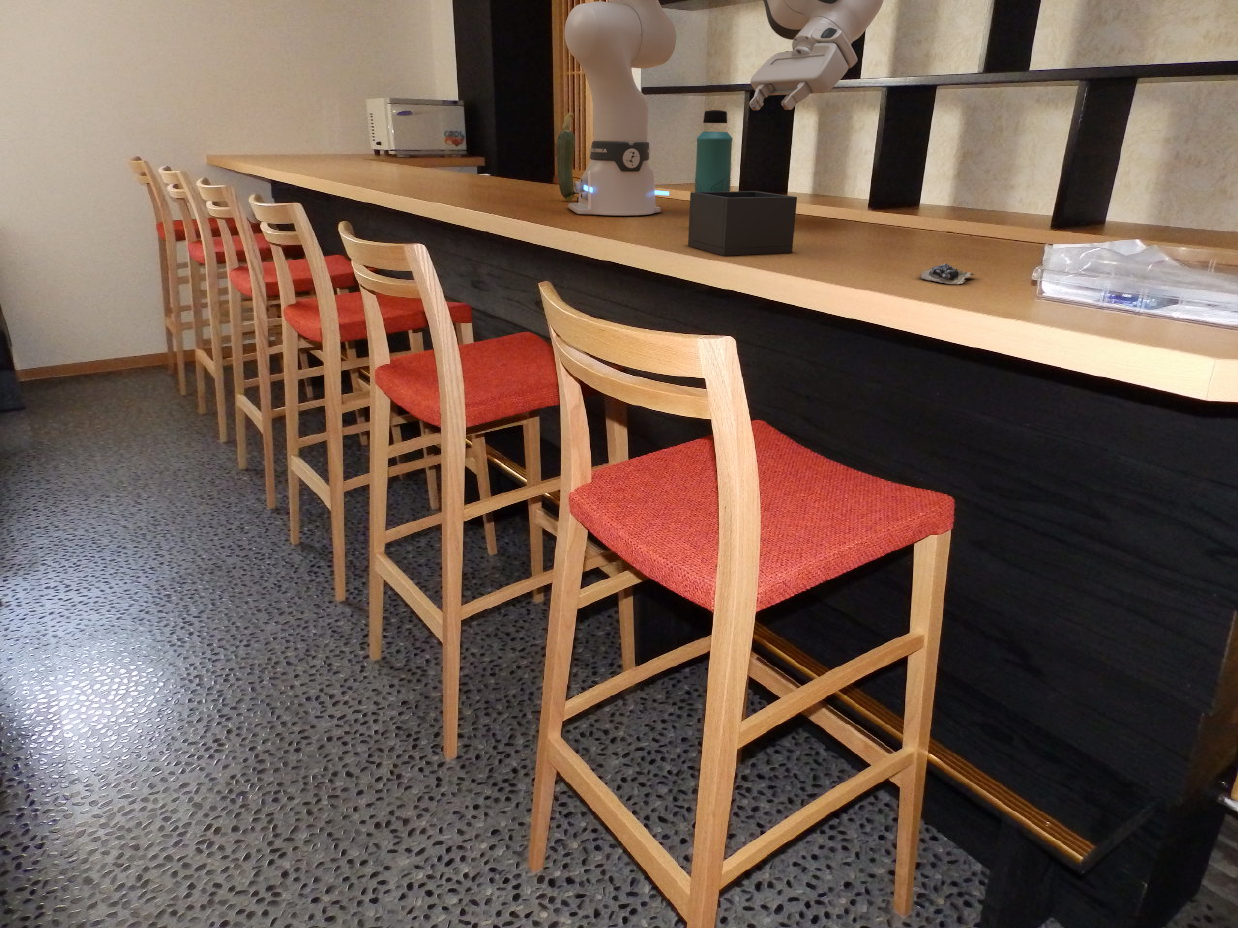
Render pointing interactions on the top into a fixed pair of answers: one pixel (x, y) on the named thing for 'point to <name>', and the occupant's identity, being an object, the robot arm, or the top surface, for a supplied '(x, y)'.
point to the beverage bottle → (713, 156)
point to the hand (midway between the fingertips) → (768, 107)
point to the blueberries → (945, 274)
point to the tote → (741, 222)
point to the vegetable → (566, 158)
